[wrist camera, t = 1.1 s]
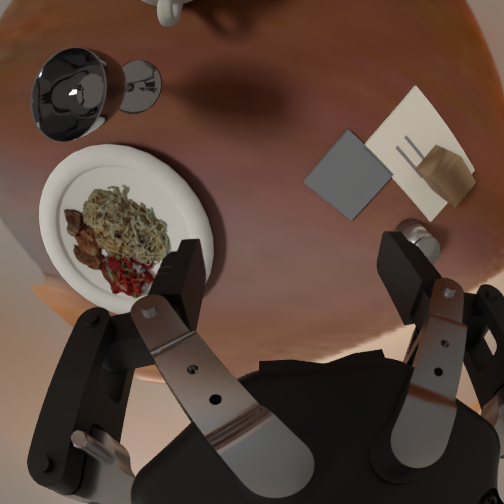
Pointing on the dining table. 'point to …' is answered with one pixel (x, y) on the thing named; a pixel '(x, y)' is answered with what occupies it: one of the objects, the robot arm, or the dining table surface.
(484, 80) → the dining table surface
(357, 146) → the coaster
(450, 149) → the envelope
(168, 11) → the teacup
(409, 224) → the tin
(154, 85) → the wine glass
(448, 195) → the walnut block
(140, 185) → the plated food
